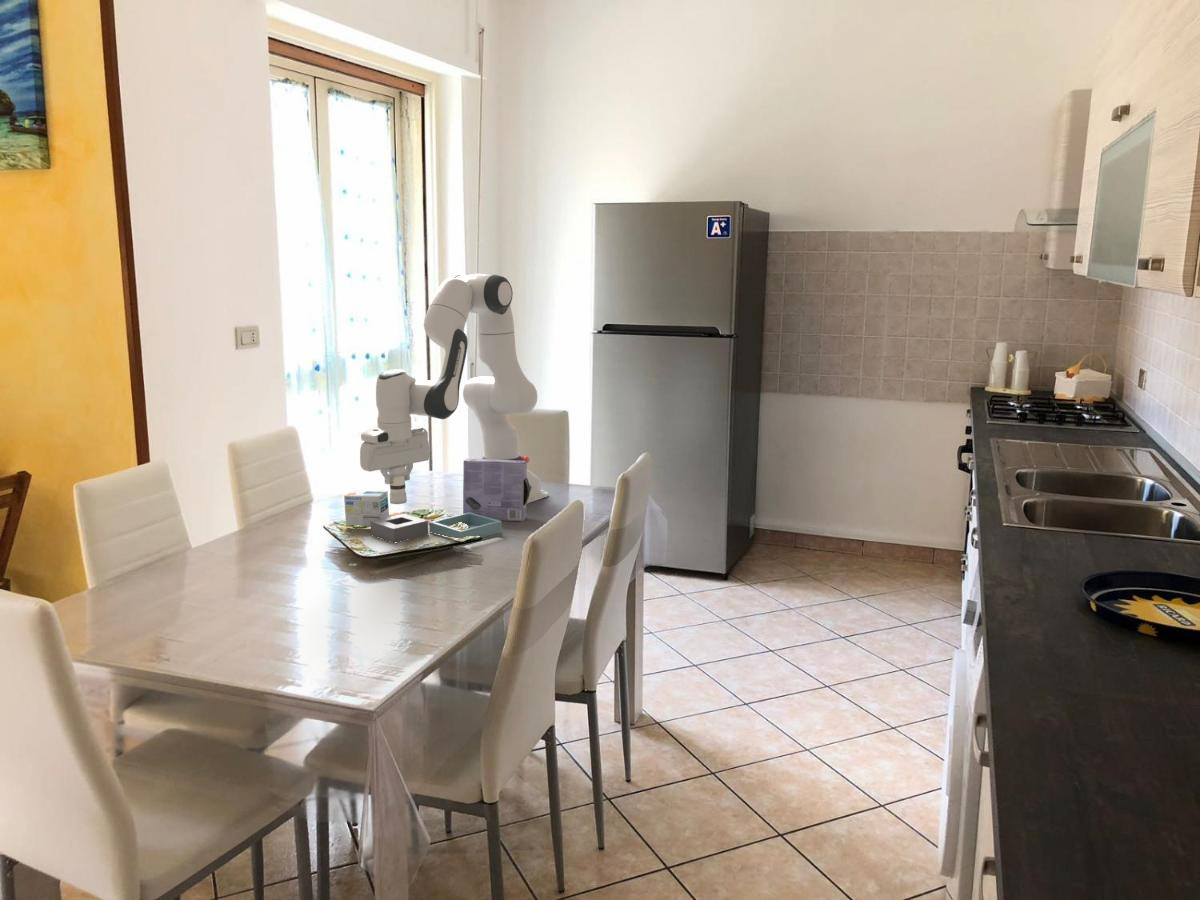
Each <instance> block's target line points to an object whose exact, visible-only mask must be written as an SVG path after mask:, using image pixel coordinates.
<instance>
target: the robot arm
mask: <svg viewBox="0 0 1200 900" xmlns="http://www.w3.org/2000/svg"><path fill="white" fill-rule="evenodd" d="M513 292H514V291H513V288H512V285H511V283H510V282H509V280H508V279H507V277H504V276H502V275H500V274H499V275H498V274H492V275H491V274H482V273H474V274H469V275H468V274H467V275H454V276H450V277H449V278H447V279H445V280H444V281H442V283H441V284H440V286H439V287H438V289H437V291H436V292H435V294H434V296H433V297H432V300H431V302H430V303H429V306H428V309H427V312H426V313H425V317H424V320H423V321H424V322H423V328H424V331H425V334H426V336H427V337H428V338H429V339H430V340H431V341H432V342H433V343H435V344H436V345H437V346H439V347H441V348H442V349H444V353H445V355H444V357H443V358H444V359H443V363H442V368H441V373H440V376H439V377H438V378H437V379H436V380H427V379H426V380H425V379H424V380H423V379H417V378H415V377H412V376H410V375H409V374H407V372H406V370H404V369H400V368H399V369H398V368H396V369H395V368H393V369H388V370H386V371H385V370H384V371H382V372H381V373H380V374H378V376H377V379H376V384H375V385H376V386H375V403H376V407H377V412H378V413H377V418H376V421H377V424H375V425H374V426H372V427H371V428H370V429H367V430H365V431H364V432H362V433H361V434H360V439H361V441H363V442H362V443H361V446H360V448H359V449H360V450H359V464H360V468H361V469H362V470H363V471H366V472H374V471H376V472H377V471H379V472H380V473H381V475H382V476H383V477H384V484H385V485H390V484H392V483H393V477H390V476H389V468H391V467H396V466H402V465H405V482H406V481H410V480H411V477H410V476H411V475H410V474H411V473H412V470H413V469H414V464H416V463H422V462H426V461H427V462H428V461H429V460H430V458H431V448H430V444H429V436H428V435H429V432H428V431H427V429H425V428H424V427H422V426H421V427H415V428H414V427H413V428H412V416H411V415H416V416H421V417H422V416H423V417H430V418H435V419H439V420H446V419H448V418H450V416H452V415H453V414H454V413H455V411H457V408H458V407H459V401H460V386H461V381H462V376H463V371H464V367H465V363H466V362H465V361H466V357H467V354H468V353H467V352H468V341H469V340H468V336H467V334H466V333H465V326H466V323H467V320H468V318H469V314H471V313H472V314H473V313H474V314H477V339H478V341H477V342H478V355H479V358H480V361H481V362H482V363H483V364H484V365H486V367H488V369H489V370H490V372H491V374H492V376H488V375H487V376H486V375H483V376H477V377H472V378H469V379H468V380H467V381H466V383H465V384H464V387H463V390H462V396H463V401H464V403H465V404H466V405H467V407H469V408H470V410H471V411H472V412H473V413H474V415H475V417H476V419H477V421H478V424H479V427H480V429H481V430H480V431H481V434H482V446H483V447H482V448H483V449H482V451H483V456H482V458H481V459H494V460H515V461H527V464H528V463H529V462H530V459H531V458H530V457H529V456H525V455H522V456H521V455H520V451H519V450H520V442H519V441H520V439H519V436H520V435H519V431H518V429H517V428H516V427H515V426H514V425H512V423H510V421H509V419H508V418H507V415H522V414H528V413H531V412H532V411H533V409H534V408H535V407H536V405H537V402H538V392H537V388H536V387H535V385H534V383H533V382H531V381H530V380H529V379H528V378H527V377H526V375H525V374H524V372H523V370H522V368H521V366H520V364H519V360H518V356H517V348H516V336H515V324H514V318H513V311H512V308H511V307H512V306H511V303H512V301H513V294H514V293H513ZM527 479H528V482H529V486H530V494H529V498H528V500H527V503H526V505H528V504H530V503H533V502H536V501H538V500H541V499H543V498H544V499H545V498H548V497H549V493H548V492H547V491H546V490H543V489H541V481H540V478H539V477H538V476H537V475H536V474H534V473H533V472H532V471H530V470H529V469H527Z"/></svg>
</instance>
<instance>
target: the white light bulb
mask: <svg viewBox="0 0 1200 900" xmlns="http://www.w3.org/2000/svg"><path fill="white" fill-rule="evenodd" d="M405 469H406V467H405V465H402V466H396V467H391V468H389V472H388V474H389V476H390V477H393V483H392V484H389V489H390V493H389V503H390V504H391V505H403V504H406V503H407V502H408V499H407V498H408V496H407V492H406V490H407V489H406V487H407V486H406V481H405Z"/></svg>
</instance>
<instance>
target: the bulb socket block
mask: <svg viewBox="0 0 1200 900" xmlns="http://www.w3.org/2000/svg"><path fill="white" fill-rule="evenodd" d="M370 525H371V530H370V536H371V535H373V536H372V537H374V536H375V538H377V537H379V538H382V539H384V540H383V541H385V540H387V541H386V542H388V541H391V542H393V543H392V544H394V543H395V542H399V543H401V542H400V541H403V542H405V541H404V540H407V539H411V540H413V539H412V538H415V539H418V538H417V537H419V538H422V537H426V536H428V535H429V521H428V520H427V519H425V518H421V517H418V516H414V515H411V514H408V513H400V514H396V515H391V516H389V517H386V518H382V519H378V520H373V521H370ZM427 534H428V535H427ZM425 535H426V536H425ZM421 536H422V537H421ZM379 538H378V539H379ZM382 539H381V540H382ZM407 541H408V540H407ZM391 542H390V543H391ZM395 544H396V543H395Z"/></svg>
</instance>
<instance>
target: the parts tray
mask: <svg viewBox="0 0 1200 900" xmlns="http://www.w3.org/2000/svg"><path fill="white" fill-rule="evenodd" d="M458 522H462V523H465V524H467V525H468V526H469V527H470V528H469V529H465V530H459V529H456V528H453V527H449V525H453V524H456V523H458ZM428 530H429V533H430V532H432V533H436V534H440V535H444V536H448V537H454V538H463V537H466V536H477V535H478V536H480V537H481V538H484V537H488V536H492V535H495V536H492V537H488V538H485V539H482V540H481V538H480V540H478V541H473V542H471V543H470V542H469V543H467V544H463V545H461V547H465V546H469V545H471V544H475V543H479V542H482V541H486V540H490V539H493V538H498V537H500V536H502V534H503V524H502V521H499V520H495V519H492V518H488V517H485V516H481V515H478V514H474V513H471V512H468V513H464V514H463V513H461V514H456V515H452V516H448V517H444V518H441V519H437V520H433V521H428ZM432 533H431V534H432ZM496 534H500V535H496Z"/></svg>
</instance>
